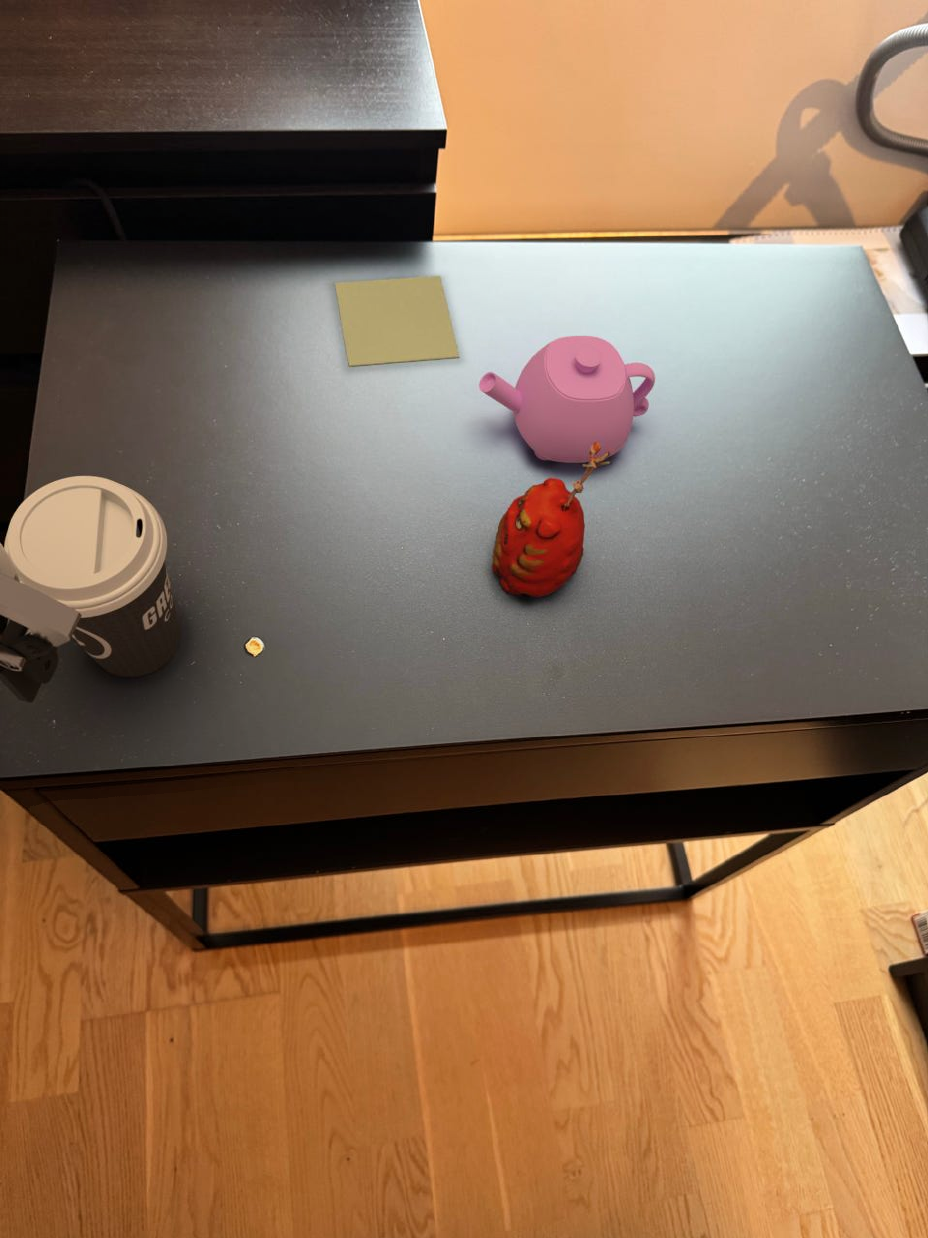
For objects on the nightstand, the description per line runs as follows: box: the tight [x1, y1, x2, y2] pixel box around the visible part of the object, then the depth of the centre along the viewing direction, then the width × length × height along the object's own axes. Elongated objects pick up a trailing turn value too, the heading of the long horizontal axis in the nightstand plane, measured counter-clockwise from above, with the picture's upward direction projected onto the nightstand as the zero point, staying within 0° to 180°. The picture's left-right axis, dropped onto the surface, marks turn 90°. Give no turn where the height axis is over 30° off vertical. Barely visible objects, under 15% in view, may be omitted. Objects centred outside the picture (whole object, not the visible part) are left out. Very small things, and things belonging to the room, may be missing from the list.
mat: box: [334, 275, 460, 368], centre depth 83 cm, size 10×10×1 cm
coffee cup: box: [3, 475, 182, 678], centre depth 61 cm, size 10×10×15 cm
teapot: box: [478, 335, 656, 464], centre depth 75 cm, size 10×15×9 cm
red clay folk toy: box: [491, 442, 611, 598], centre depth 66 cm, size 8×7×15 cm
